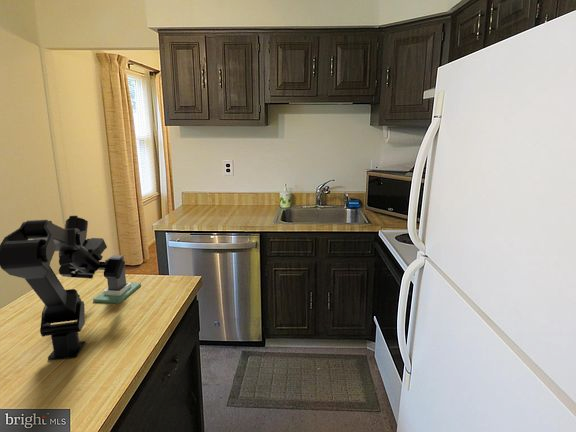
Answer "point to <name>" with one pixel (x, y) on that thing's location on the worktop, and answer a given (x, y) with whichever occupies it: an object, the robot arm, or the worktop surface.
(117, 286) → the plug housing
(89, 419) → the worktop surface
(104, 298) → the board
